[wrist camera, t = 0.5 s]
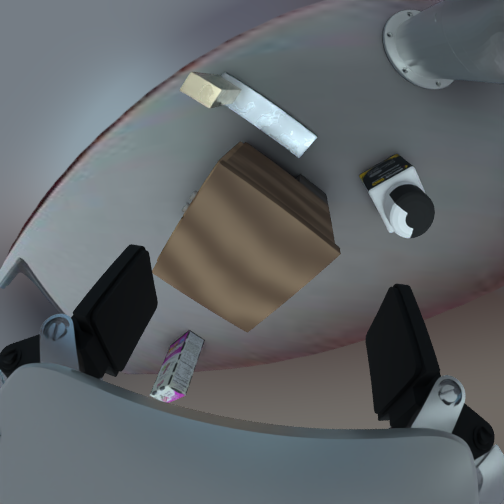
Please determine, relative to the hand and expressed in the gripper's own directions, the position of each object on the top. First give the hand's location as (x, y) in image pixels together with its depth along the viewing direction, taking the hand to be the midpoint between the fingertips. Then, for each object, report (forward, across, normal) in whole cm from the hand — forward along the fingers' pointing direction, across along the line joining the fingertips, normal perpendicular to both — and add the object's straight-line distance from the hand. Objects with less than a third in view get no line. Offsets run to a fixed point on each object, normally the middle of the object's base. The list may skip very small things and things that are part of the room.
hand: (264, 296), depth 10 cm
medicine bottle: (+32, -16, +3) cm, 36 cm away
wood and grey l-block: (+32, +4, -4) cm, 33 cm away
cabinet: (+32, +4, +10) cm, 34 cm away
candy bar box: (+33, +19, +50) cm, 63 cm away
